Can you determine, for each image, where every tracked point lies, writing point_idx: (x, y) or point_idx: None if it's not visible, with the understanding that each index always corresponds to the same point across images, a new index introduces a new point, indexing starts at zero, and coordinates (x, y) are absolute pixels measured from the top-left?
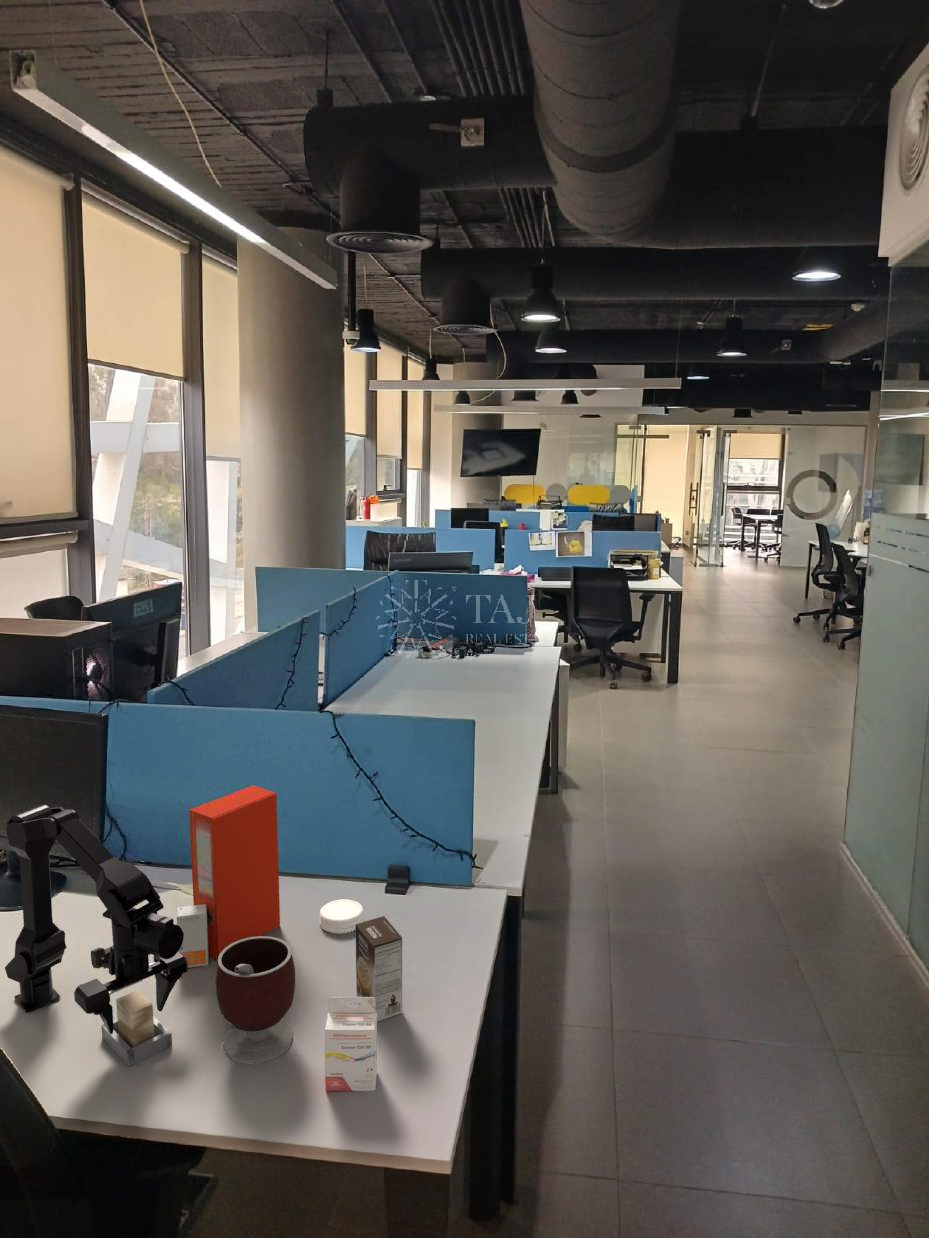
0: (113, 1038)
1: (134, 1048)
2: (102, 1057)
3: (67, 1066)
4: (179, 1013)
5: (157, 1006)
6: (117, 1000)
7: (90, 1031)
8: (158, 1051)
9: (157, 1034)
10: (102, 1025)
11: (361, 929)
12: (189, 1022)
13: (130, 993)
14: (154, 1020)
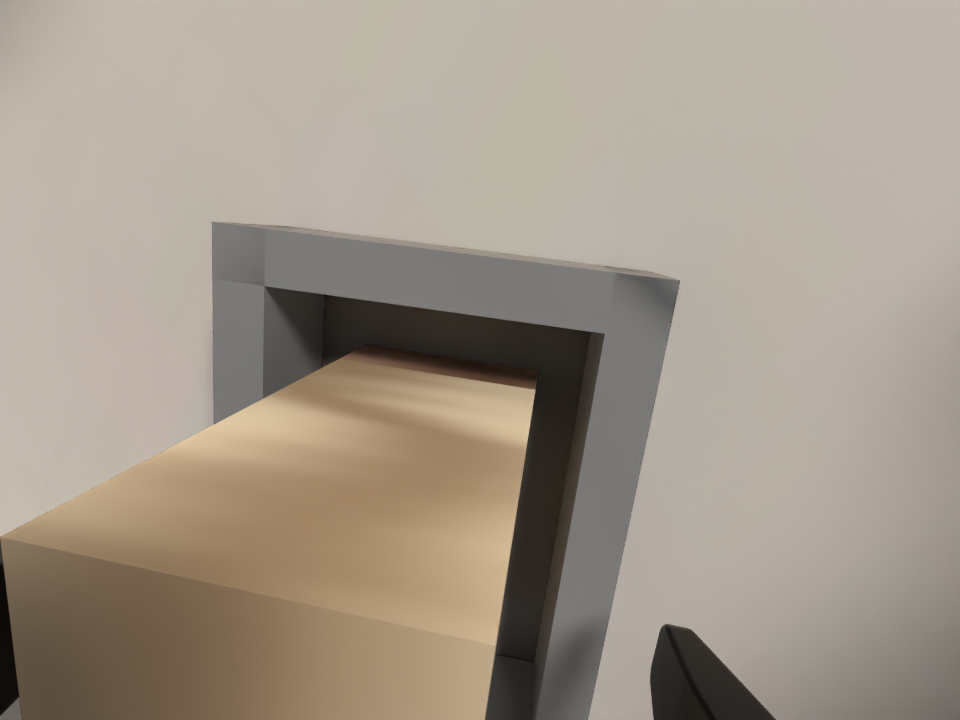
0: None
1: None
2: (196, 432)
3: (6, 326)
4: (883, 466)
5: (668, 662)
6: (9, 597)
7: (254, 60)
8: None
9: (548, 598)
10: (220, 231)
11: None
12: (831, 621)
13: (311, 622)
14: (588, 572)
